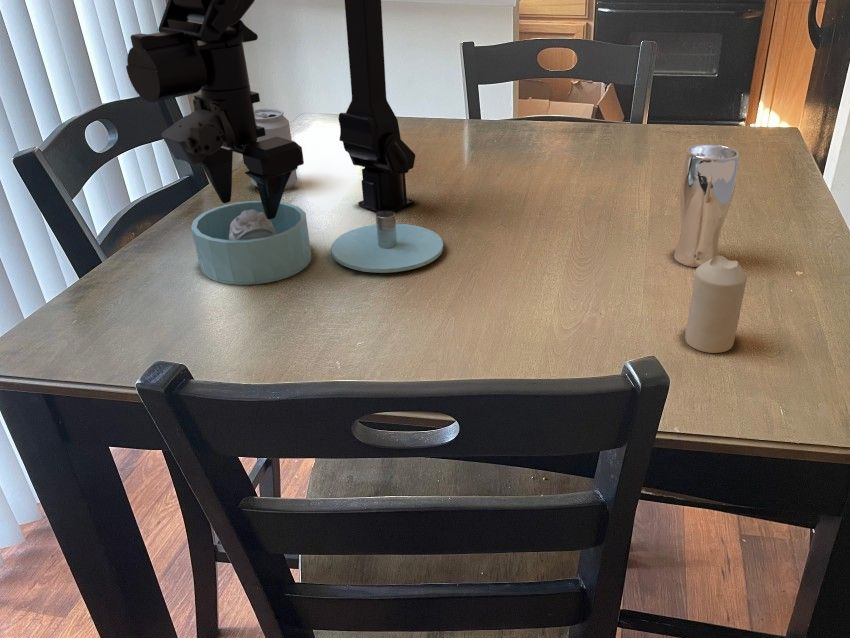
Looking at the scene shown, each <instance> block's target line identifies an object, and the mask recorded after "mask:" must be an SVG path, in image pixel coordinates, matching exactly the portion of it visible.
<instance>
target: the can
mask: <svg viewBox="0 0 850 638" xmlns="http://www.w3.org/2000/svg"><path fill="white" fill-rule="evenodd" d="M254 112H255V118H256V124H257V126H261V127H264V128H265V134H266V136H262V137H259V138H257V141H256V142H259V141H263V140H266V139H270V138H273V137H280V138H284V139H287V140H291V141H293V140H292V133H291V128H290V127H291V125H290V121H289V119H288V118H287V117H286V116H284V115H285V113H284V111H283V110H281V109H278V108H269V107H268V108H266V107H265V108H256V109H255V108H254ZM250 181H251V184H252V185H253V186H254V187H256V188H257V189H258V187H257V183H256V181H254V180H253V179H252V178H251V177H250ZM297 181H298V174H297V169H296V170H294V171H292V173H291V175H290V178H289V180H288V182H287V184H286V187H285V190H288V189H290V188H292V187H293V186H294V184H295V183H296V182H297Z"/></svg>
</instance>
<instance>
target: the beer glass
mask: <svg viewBox="0 0 850 638" xmlns="http://www.w3.org/2000/svg"><path fill="white" fill-rule="evenodd" d="M739 156H740V153H739V150H737V149H735V148H733V147H730V146H726V145H722V144H717V143H700V144H693V145H690V146H689V147H687V149H686V155H685V159H684V163H683V169H682V172H681V179H680V187H679V207H680V210H679V211H680V234H679V238H678V241H677V245H676V248H675V250H674V254H673V257H674V259H675V261H677V262H678V263H679V264H681V265H683V266H686V267H690V268H696V269H697V268H698V267H699V266H700V265H702V264H703V263H705V262H707V261H709V260H711V259H712V258H714V257H715V256H720V254H719V250H720V249H719V245H720V244H719V243H720V236H721V233H722V232H721V231H722V228H723V226H724V223H725V220H726V218H727V215H728V212H729V210H730V207H731V203H732V201H733V197H734V193H735V189H736V185H737V177H738V166H739Z"/></svg>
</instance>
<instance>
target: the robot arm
mask: <svg viewBox="0 0 850 638" xmlns="http://www.w3.org/2000/svg"><path fill="white" fill-rule="evenodd" d="M255 1H256V0H167V3H166V6H165V9H164V12H163V14H162V16H161V21H160V23H159V25H158V32H155V33H135V34H131V35H130V37H129V38H130V42H131V45H132V47H131V48H130V49H129V50H128V53H127V59H126V61H127V62H126V63H127V65H125V68H126V69H125V70H126V72H127V76H128V79H129V81H130V84H131V85H132V87H133V89H134V90H135V92H136V93H137V95H138V96H139V97H140V98H141V99H143V101H145V102H147V103H158V102H161V101H162V102H163V101H166V100H170V99H175V98H179V97H183V96H188V95H193V98H194V99H192V104H193V111H191V112H190V113H189V114H187V115H185V116H183V117H182V118H180V119H179V120H177V121H176V122H174V123H173V124H172V125H170V126H169V127H168V128H167V129H165V130H163V132H161V134H160V136H161V138H162V140H163V141H164V143H165V144H166V146H167V147H168V149H169V151H170V152H171V154H172V156H173V157H174V159H175V160H177V161H179V160H181V161H183V162H186V163H187V164H190V165H197V164H199V165H200V166H201V168H202V170H203V171H204V173H205V174H206V177H207V178H208V180H209V182H210V184H211V185H212V187H213V189H214V191H215V192H216V194H217V196H218V199H220V202H221V203H222V204H229V203H230V202H231V200H232V192H233V191H232V190H233V158H234V157H233V153H237V154H240V155H241V156H242V160H243V164H244V166H245V167H246V169H247V171H244V173H245V174H246V176H247V177H249V178H250V179H251V178H252V179H253V180H254V181H256V183H257V187H258V188H257V187H256V188H257V190H258V194H259V197H260V201H261V202H262V205H263V209H264V212H265V215H266V218H267V219H269V220H270V219H273V218H275V217H276V214H277V211H278V208H279V205H280V202H282V199H283V195H284V193H285V190H286V189H285V187H286V184H287V182H288V180H289V178H290V175H291V173H292V171H294V170H296V171H297V170H298V167H299V166H302V165H303V166H304V163H305V162H304V153H303V147H302V146H301V145H300V144H299V143H297V142H296V141H294V140H292V139H291V140H292V141H291V140H287V139H284V138H280V137H273V138H270V139H266V140H263V141H259V142H256V141H257V138H259V137H262V136H266V134H265V128H264V127H261V126H257V124H256V118H255V112H254V110H255V105H254V104H257V103H260V102H261V98H260V93H259V92H256V91H252V89H251V84H250V79H249V78H250V77H249V72H248V67H247V60H246V55H245V50H244V43H250V42H255V41H257V40H258V38H259V37H258V34H257V33H256V32H254V31H253V30H252V29H251V28H249V27H248V26H246V24H245V23H244V21H243V20H241V19H242V18H243V17H244V16H245V14H246V13H247V12H248V11H249V9H250V8H251V7H252V6H253V4H254V3H255ZM344 11H345V13H344V14H345V24H346V25H345V26H346V38H347V50H348V65H349V78H350V91H351V92H350V93H351V101H350V103H349V105H348V107H347V109H346V111H345V112H339V114H338V119H337V120H338V123H339V128H340V135H339V139H338V140H339V141H340V142H342V144H343V145H342V146H343V148H344V150H345V152H347V154H348V155H349V158H350V161H351V163H352V165H353V166H355V167H358V166H359V167H362V168H361V174H362V175H361V176H362V179H361V191H362V200H360V201H358V203H357V205H358V206H359V207H362V208H365V209H368V210H371V211H374V212H376V213H377V212H379V211H392V212H394V213H395V212H397V211H399V210H401V209H402V210H403V209H404V208H407V207H409V206H411V205H413V204H415V200H414V199H412V198H409V197H407V184H406V183H407V182H406V181H407V180H406V174H408V173H409V171H410V170H412V169H413V168H414V167H415V160H416V154H415V152H414V151H413V150H412V149H411V148H410V147H409V146H408V145H407V144H406V143H405V142H404V141H403V139H402V138H401V132H400V126H399V120H398V118H397V116H396V114H395V112H394V111H393V109H392V107H391V105H390V103H389V102H388V98H387V84H386V67H385V47H384V28H383V11H382V0H344ZM189 20H190V21H189ZM199 92H200V94H197V93H199ZM194 94H195V95H194Z"/></svg>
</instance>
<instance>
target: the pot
mask: <svg viewBox="0 0 850 638" xmlns="http://www.w3.org/2000/svg"><path fill="white" fill-rule="evenodd" d="M250 209H251V210H252V209H253V210H255V211H257V212H258V213H260V212H263V213H264V215H265V212H264V209H263V205H262V202H261V200H247V201H238V202H232V203H227V204H224V205H221V206H216V207H213V208H211V209H209V210H206V211H205V212H202V213H201V214H199V215H198V216H197V217H196V218H195V219H194V220H193V221H192V224H191V227H190V229H191V234H192V238H193V242H194V246H195V252H196V255H197V260H198V264H199V267H200V269H201V271H202V274H203V275H204V276H205V277H207V278H208V279H210V280H212V281H214V282H218V283H220V284H226V285H236V286H238V285H240V286H251V285H253V286H254V285H262V284H268V283H273V282H278V281H281V280H285V279H287V278H290V277H292V276H294V275H296V274H298V273H300V272H302V271H304V269H305V268H307V267H308V266H309V265H310V263H311V261H312V248H311V241H310V240H311V239H310V234H309V228H308V227H309V226H308V221H307V213H306V212H305V211H304V210H303V209H302V208H301V207H299V206H298V205H295V204H291V203H289V202H286V201H284V202H283V201H281V202H280V205H279V208H278V211H277V214H276V217H275V218H273V219H270V221H271V222H272V224H273V227H274V228H275V230H276V235H272V236H269V237H264V238H257V239H250V240H229V231H230V224H231V223H232V221H233V220H234V219H235V218H236V217H238V216H240V215H241V213H242V212H243V211H245V210H246V211H247V210H250ZM265 216H266V215H265Z"/></svg>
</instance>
